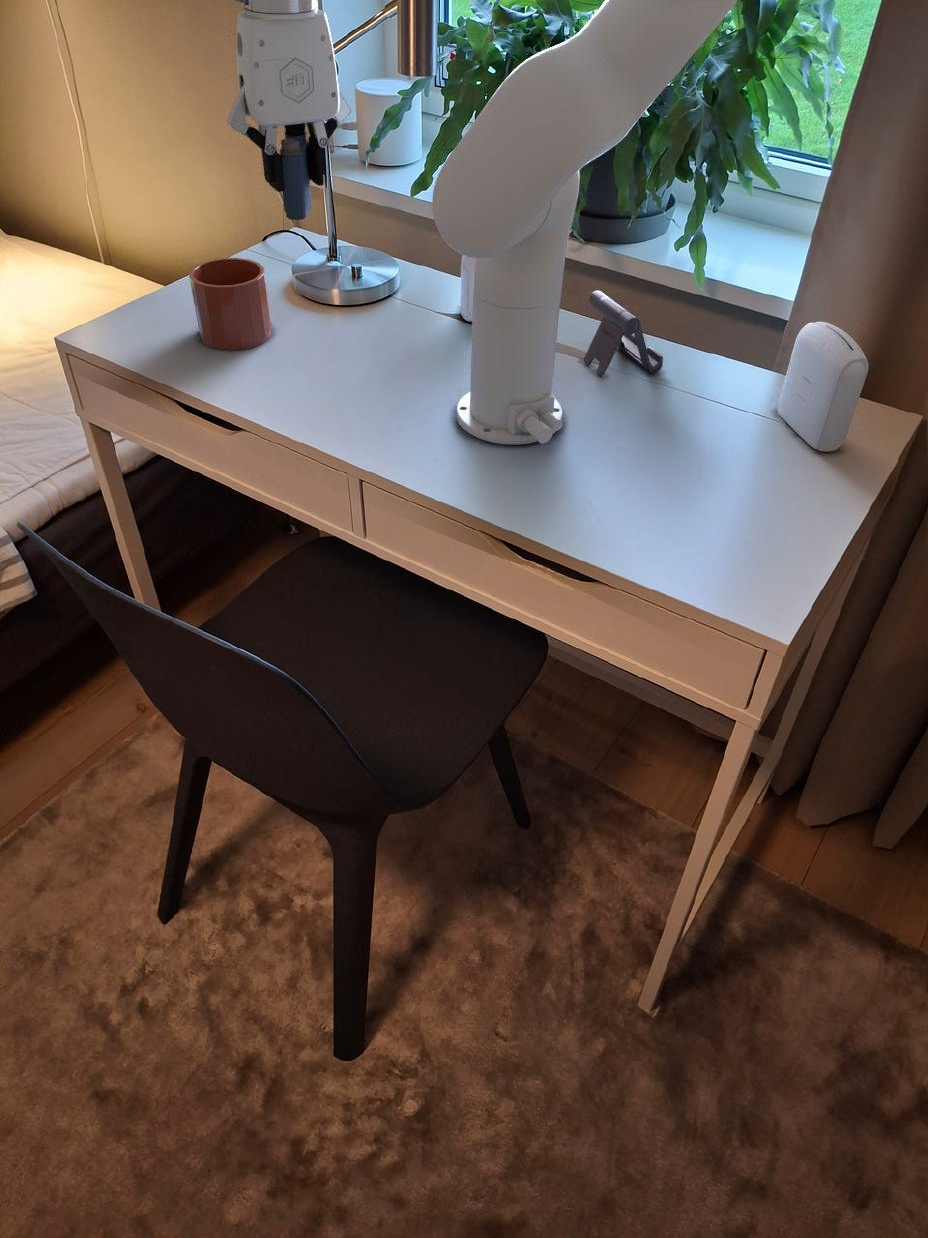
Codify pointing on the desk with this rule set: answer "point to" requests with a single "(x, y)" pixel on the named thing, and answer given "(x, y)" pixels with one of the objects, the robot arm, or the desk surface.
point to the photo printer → (823, 385)
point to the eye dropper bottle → (467, 287)
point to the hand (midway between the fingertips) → (296, 183)
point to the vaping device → (295, 172)
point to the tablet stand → (618, 336)
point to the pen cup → (231, 303)
